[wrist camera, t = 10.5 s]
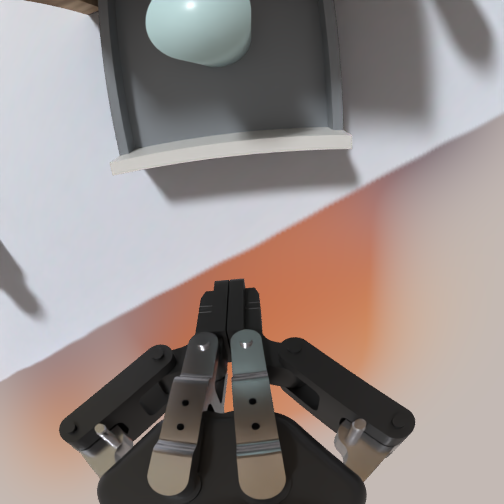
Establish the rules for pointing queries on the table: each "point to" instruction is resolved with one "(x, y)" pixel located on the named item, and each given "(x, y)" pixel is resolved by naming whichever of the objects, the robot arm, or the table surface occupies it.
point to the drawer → (224, 88)
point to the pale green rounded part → (201, 30)
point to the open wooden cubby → (73, 5)
